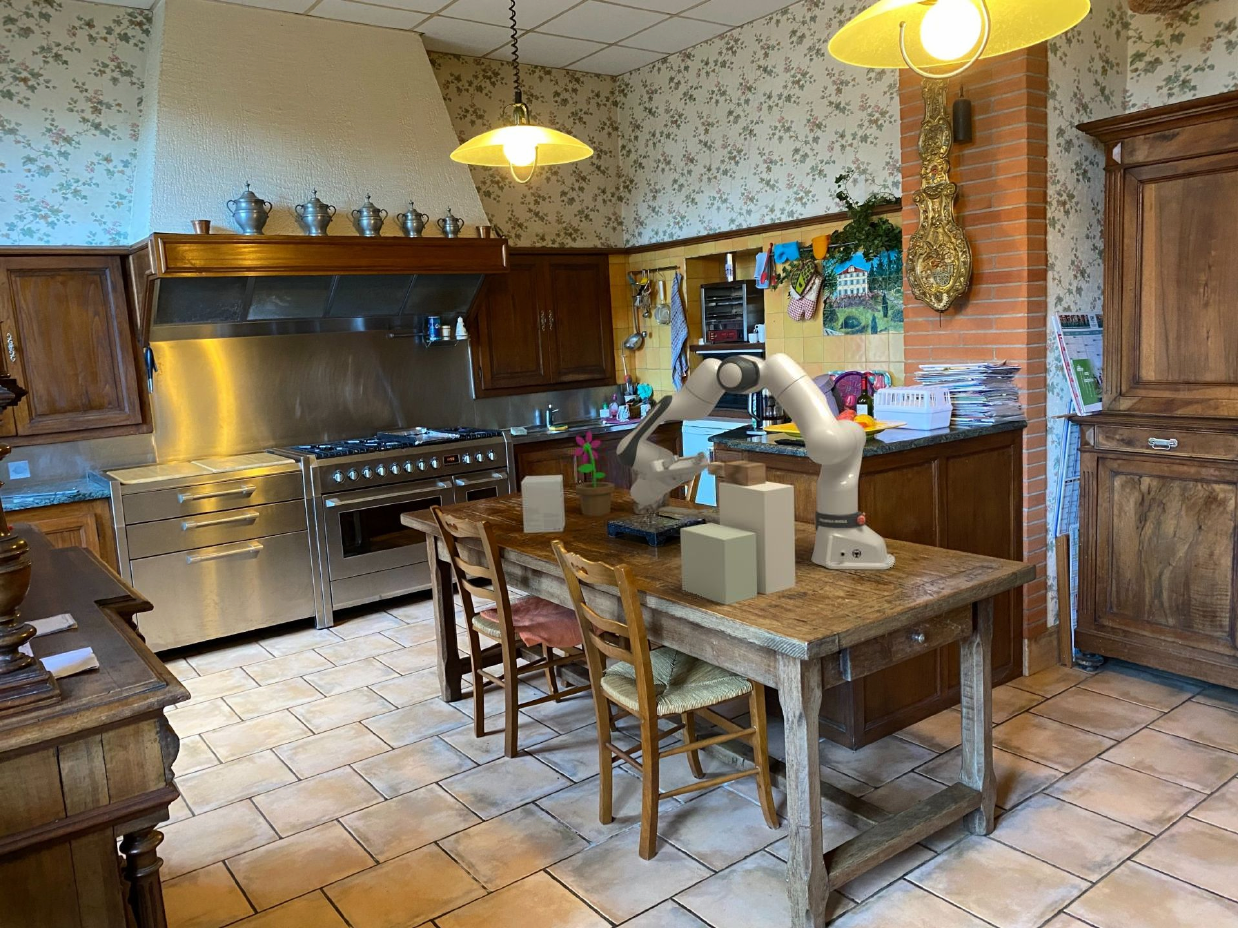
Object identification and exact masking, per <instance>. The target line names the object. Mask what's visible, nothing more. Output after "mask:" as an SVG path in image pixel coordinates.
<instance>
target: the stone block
mask: <svg viewBox="0 0 1238 928" xmlns="http://www.w3.org/2000/svg"><path fill="white" fill-rule="evenodd" d="M630 474H631V483H632V485H631V487H632V486H633V484H634V483H635V482H636V481H637V480H638V479H639V476H640V475H642V474H643V473H641V472H639V471H637V470H635V469H632V468H630ZM670 492H671V490H670V491H669V492H667V493H665V494H664V495H663V496H662V497H661V498H660V499H658V500H657V501H655V502H654V503H652V504H649V505H642V504H639V503H637V502H636V501H635V500H634V499H633V498H632V501H633V512H634V514H637V515H638V514H643V513H646V512H654V511H658V509H660V508H661V507H667V506H670V503H671V501H670V498H671V497H670Z"/></svg>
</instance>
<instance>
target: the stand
mask: <svg viewBox="0 0 1238 928" xmlns="http://www.w3.org/2000/svg"><path fill="white" fill-rule="evenodd" d="M718 496H719V497H718V501H719V503H718V505H719V506H718V507H720V525H718V524H714V523H707V524H702V523H701V524H698V525H692V526H687V527H682V528H680V553H681V554H680V557H681V560H680V561H681V585H682V586H681V587H682V588H681V589H682V590H681V591H684V590H686V591H685V592H687V591H688V592H687V593H690V592H691V593H690V594H692V593H693V594H692V595H695V594H697V595H696V596H698V595H699V597H701V596H702V598H705V599H707V600H710V601H713V602H715V603H719V604H721V605H725V606H728V605H731V604H735V603H739V602H742V601H746V600H751V599H754V598H755V599H756V598H757V597H758V593H759V594H764V595H770V594H772V593H777V592H781V591H784V590H785V591H786V590H789V589H792V588H793V589H794V588H796V555H795V553H796V552H795V551H796V550H795V549H796V545H795V544H796V543H795V541H796V540H795V538H796V537H795V535H796V533H795V485H790V484H784V483H783V484H782V483H778V482H772V481H767V480H766V483H765V484H759V485H753V486H743V485H738V484H732V483H726V482H725V481H723V482H718Z"/></svg>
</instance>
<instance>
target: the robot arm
mask: <svg viewBox="0 0 1238 928" xmlns="http://www.w3.org/2000/svg"><path fill="white" fill-rule="evenodd" d="M763 390H767V391H768V392H769V393H770V394H771V395H772V396H773V398H774V399H775V400H776V401H777V403H778V404H779V405H780V407H782V410H784V411H785V412H786V414H787V416H788V417H789V418H790V419H791V420H792V422H793V423H794V425H795V426H796V429H797V430H798V432H799V435H800V436H801V438H802V440H803V442H804V444H805V452H806V454H807V456H808V458H809V459H810V460H811V461H813V462H814V463H815V464H819V465H821V467H820V472H819V476H818V479H817V481H816V510H815V513H814V528H815V529H814V530H815V542H814V548H813V552H812V556H811V559H810V560H811V561H812V563H813V564H816V565H820V566H823V567H826V568H827V569H830V570H888V569H891V568H893V567H894V566H895V564H896V558H895V556H894V555H892V554H890V553H888V550H887V546H886V542H885V540H884V538H883V536H881V535H879V534H878V533H877V532H875V531H874V530H873V529H871V528H870V527H869V526H867V525H866V513H865V512H862V511H859V508H858V507H859V506H858V504H859V503H858V501H859V500H858V499H859V497H858V495H859V493H858V489H859V488H858V487H859V486H858V485H859V477H860V471H861V465H862V459H863V451H864V447H865V445H866V441H867V434H866V431H865V429H864V427H863V425H861V424H859V423H858V422H856V421H853V420H850V419H839V420H838V419H836V417H835V415H834V413H833V412H832V410H831V408H830V406H829V403H828V399H827V397H826V395H825V394H824V393H823V392H822V390H821V389H820V388H819V387H818V386H817V385H816V383H815V382H814V380H813V379H812V378H811V377H810V376H809V375H808V373H807V372H806V371H805V370H804V369H803V367H801V366H800V365H799V363H797V362H796V361H795V360H794V359H792V358H791V357H790V356H789V355H787V354H786V353H783V352H777V353H773V354H772V355H769V356H767V358H766V359H765V358H762V357H760V356H756V355H747V354H743V355H742V354H740V355H732V356H729V357H727V358H725V359H723V360H720V359H717V358H713V357H711V358H706V359H704V360H703V361H701V363H700V364H699V365H698V366H697V367H696V368H695V369H694V370H693V372H692V373H691V374H690V376H689V377H688V378H687V380H686V382H685V383H684V384H683V386H682V387H681V388H680V389H679V390H678V391H676V392H674V393H672V394H667V395H664V396H663V397H662V398H661V399H660V400H658V402H656V404H655V405H653V407H652V408H651V409H650V410H649V411H648V412H647V413H645V415H644V417H643V418H642V419H641V420H640V421H639V422H638V423H637V424H636V425H635V427H634V428H633V429H632V430H631V431H629V432H628V433H627V434H626V435H625V436H623V438H622V439H620V442H619V443H618V445H617V447H616V450H615V454H616V458H617V461H618V463H619V464H620V465H621V466H623V467H626V468H628V469H631V468H632V469H635V470H637V471H639V472H641V473H643V474H642V475H640V476H639V479H638V480H637V481H636V482H635V483H634V484H633V486H632V485H631V487H630V491H629V493H630V497H631V498H632V500H633V499H634V500H635V501H636V502H637V503H639V504H642V505H649V504H652V503H654V502H655V501H657V500H658V499H660V498H661V497H662V496H663V495H664V494H665V493H667V492H669V491H670V492H671V491H672V490H673V489H676V488H677V487H679V486H682V485H685V484H688V483H690V482H693V481H694V480H695V478H694V477H697V476H698V475H700V474H701V473H702V472H704V471H705V470H706V469H708V463H710V462H709V460H708V457H707V454H706V452H705V451H699V452H698V453H697V454H695V455H694V454H693V455H688V456H687V455H686V456H682V457H679V454H674V453H673V452H672V451H671V450H668V449H667V448H664V447H663V446H661V445H657V444H655V443H653V442H651V441H649V440H647V439H648V437H649V436H651V434H652V433H653V432H654V431H655V430H656V429H657V427H658V426H659V425H660V424H662V423H663V422H666V421H674V420H675V421H679V420H680V421H686V422H687V421H688V422H695V421H696V422H697V421H700V420H702V419H705V418H706V417H708V416H709V415H710V413H712V411H713V410H714V408H715V407H716V406H717V403H719V400H720V398H721V397H722V396H723V395H724V393H725V392H726V393H729V394H733V395H734V394H735V395H736V394H737V395H738V394H740V395H741V394H742V395H750V394H754V393H760V392H762V391H763ZM894 563H895V564H894ZM893 565H894V566H893ZM890 567H891V568H890Z"/></svg>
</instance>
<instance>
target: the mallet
mask: <svg viewBox="0 0 1238 928" xmlns="http://www.w3.org/2000/svg"><path fill="white" fill-rule="evenodd" d="M766 468H767V467H766V463H762V462H761V463H760V462H753V461H749V460H737V461H731V462H720V461H719V462H718V461H715V462H714V461H713V462H709V463H708V467H707V474H708V475H711V476H717V477H723V478H724V482H726V483H732V484H738V485H743V486H753V485H759V484H765V483H766V481H767V479H766V478H767V476H766V473H767V472H766V470H767V469H766Z"/></svg>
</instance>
